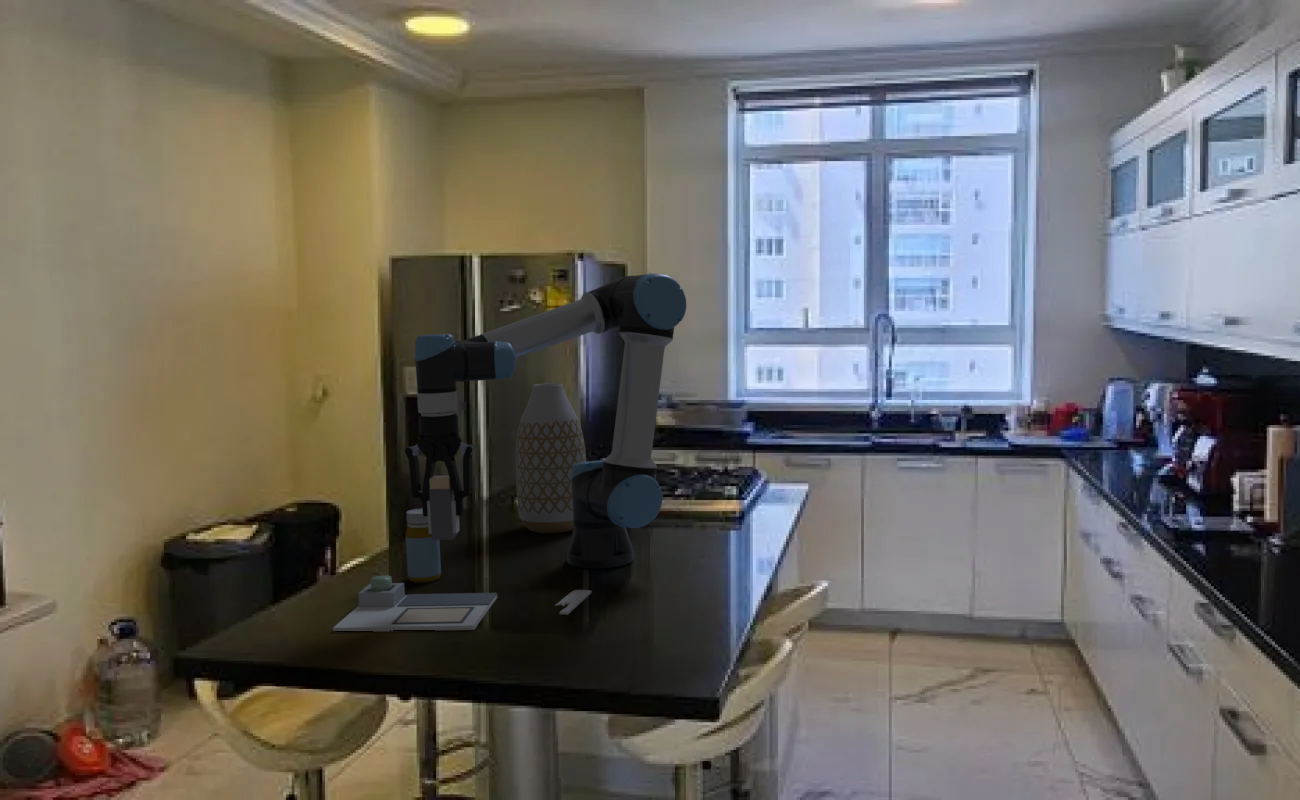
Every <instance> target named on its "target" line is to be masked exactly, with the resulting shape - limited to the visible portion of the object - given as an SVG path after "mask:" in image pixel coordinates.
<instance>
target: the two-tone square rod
mask: <svg viewBox="0 0 1300 800" xmlns="http://www.w3.org/2000/svg"><path fill="white" fill-rule="evenodd" d="M429 483H430V489H429V495H430V514H431V532H432V540H439V541H444V540H445V541H446V540H447V541H449V540H450V541H451V540H454V539H455V537H457V536H458V532H457V533H453V529H452V510H451V500H452V499H454V498H455V497H454V493H453V490H452V486H451V482H450V478H449V475H434V476H433V477H432V478H430V479H429Z"/></svg>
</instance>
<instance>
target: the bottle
mask: <svg viewBox="0 0 1300 800" xmlns="http://www.w3.org/2000/svg"><path fill="white" fill-rule="evenodd" d="M406 525H407V527H406V531H405V545H406V546H405V547H406V548H405V549H406V563H407V565H406V566H407V568H406V569H407V578H408V580H409V581H410V582H412V583H414V584H415V583H416V584H423V583H425V584H426V583H432V582H435V581H437V580H440V578H441V576H442V566H441V550H440V545H441V544H440V540H432V534H429V528H428V516H424V515H423V508H422V507H421V508H413V509H410V510H407V511H406Z"/></svg>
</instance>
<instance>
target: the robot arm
mask: <svg viewBox="0 0 1300 800" xmlns="http://www.w3.org/2000/svg"><path fill="white" fill-rule="evenodd" d="M686 311H687V297H686V294H685V292H684V289H683V288H682V286H681V285H680V284H679V283H678V281H677V280H675V279H674V278H673V277H671V276H669V275H665V274H661V273H646V274H637V275H626V276H623V277H620V278H617V279H615V280H613V281H611V282H609V283H607V284H604V285H602V286H599V287H597V288H594V289H592V290H590V291H586V292H583V294H582V295H581V298H580V299H578V300H574V301H572V302H569V303H566V304H564V305H561V306H557V307H555V308H552V309H549V310H547V311H544V312H541V313H538V314H536V315H531V316H529V317H527V318H522V319H520V320H517V321H515V322H512V323H510V324H509V323H508V324H506V325H504V326H503V325H502V326H500V327H498V328H495V329H491V330H489V331H486V332H484V333H481V334H478V335H475V336H472V337H469V338H466V339H463V340H455V339H454V336H453V334H451V333H450V334H449V333H446V334H445V333H443V334H440V333H439V334H421V335H418V336H417V337H416V339H415V341H414V343H415V344H414V363H415V365H414V366H415V376H416V389H417V390H416V392H417V393H416V396H417V413H419V414H420V415H419V417H418V433H419V434H418V435H419V437H418V440H417V444H415V445H412V446H408V447H406V448H405V449H404V453H405V455H406V457H407V460H408V466H409V467H408V468H409V478H410V487H411V496H412V497H413V498H414V499H415V498H417V499H419V500H421V505H422V507H421V508H423V515H424V516H428V528H429V534H432V532H431V514H430V495H429V489H430V483H429V479H430V478H432V477H433V476H435V468H436V464H437V462H442V463H444V465H445V467H446V470H447V473H448V476H449V478H450V482H451V486H452V490H453V493H454V497H455V498H454V499H452V500H451V510H452V529H453V533H457V534H458V533H459V531H460V516H462V515H463V514H464V511H465V509H464V498H466V497H469V496H470V495H471V494H472V493H473V454H474V451H475V448H476V447H475V445H474V444H467V443H465V442H462V439H461V438H460V434H459V433H460V432H459V431H460V430H459V429H460V428H459V415H458V414H456V413H455V412H457V411H458V394H457V392H458V391H457V390H458V389H457V382H459V383H462V382H472V381H473V382H475V381H492V380H496V381H499V380H504V379H509V378H511V377H512V376H513V375H514V372H515V370H516V360H517V359H520V358H524V357H527V356H528V355H531V354H534V353H537V352H540V351H542V350H545V349H547V348H548V349H549V348H550V347H553V346H554V347H555V346H556V345H559V344H561V343H564V342H567V341H570V340H573V339H575V338H579V337H581V336H584V335H587V334H589V333H594V334H597V335H600V334H602V333H605V332H609V331H613V330H619V331H618V333H619V334H618V335H620V337H621V338H622V340H623V341H624V346H623V347H624V348H623V356H622V366H621V373H620V381H619V389H618V390H619V392H618V396H617V397H618V398H617V407H616V413H615V414H616V416H615V423H614V424H615V425H614V430H613V431H614V432H613V440H612V447H611V453H610V454H609V455H607V456H606V457H605V458H604V459H602V460H601V459H600V460H592V461H591V460H589V461H586V462H581V463H576V464H575V465H573V467H572V475H571V481H572V501H573V521H574V529H573V530H572V534H571V537H570V540H569V541H570V542H569V545H568V547H567V553H566V556H567V557H566V560H567V561H566V562H567V564H568V565H570V566H571V567H574V568H581V569H595V570H597V569H611V568H617V567H623V566H626V565H628V564H630V563H633V562H634V561H635V555H634V554H635V552H634V547H633V545H632V542H631V540H630V537H629V534H628V530H627V528H628V529H638V528H642V527H645V526H647V525H648V524H649V523H651V522H652V521H653V520H654V519H655V518H656V517H657V515H658V514H659V513H660V512H661V511H660V510H661V508H662V505H663V499H664V498H663V497H664V495H663V490H662V487H661V486H660V484H659V482H658V481H657V471H658V470H657V469H658V466H657V463H656V462H655V461H654V460H653V459H652V456H653V455H652V453H653V445H654V437H655V429H656V421H657V412H658V405H659V397H660V388H661V380H662V373H663V372H662V371H663V364H664V356H665V348H666V347H667V346H668V345H669V344H670V343H671V342H672V341H674V333H675V332H674V331H675V328H676V326H678V324H680V322H682V321H683V319H684V317H685V316H686V315H685V314H686ZM459 449H460V453H461V454H462V484H461V480H460V476H459V472H458V468H457V464H456V462H457V461H456V457H455V456H456V454H457V453H458V451H459ZM419 450H420V451H421V453H422V454H423V455H424V457H425V470H424V475H423V476H424V477H423V483H421V472H420V463H419V462H420V461H419V457H418V456H419V454H420V451H419ZM421 484H422V485H421ZM462 485H463V487H462Z"/></svg>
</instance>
